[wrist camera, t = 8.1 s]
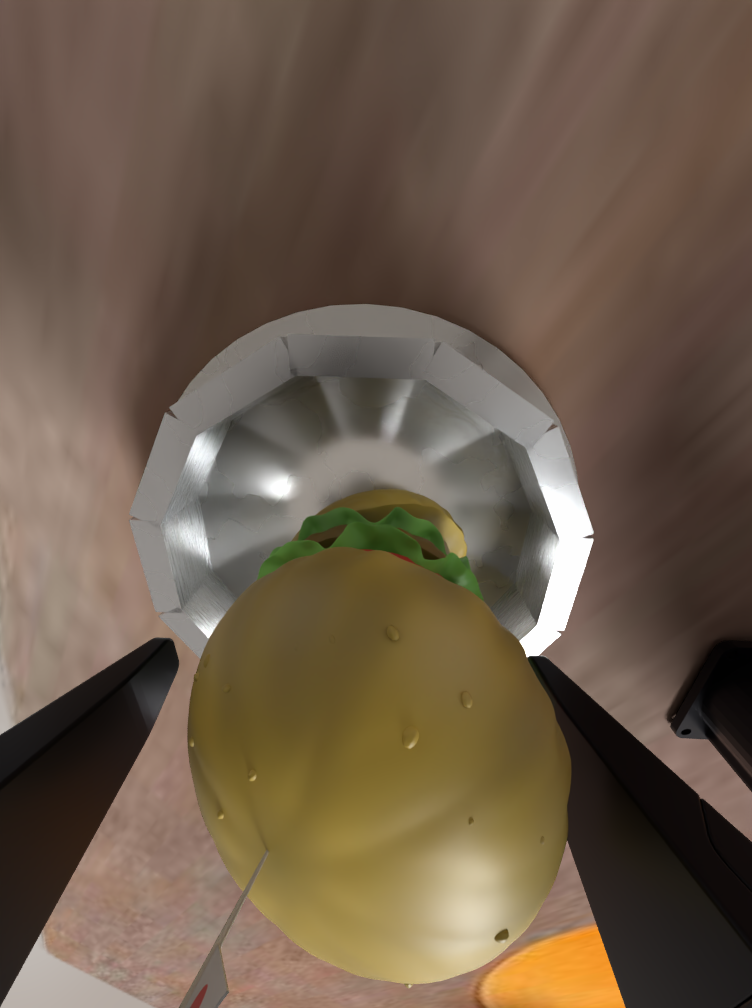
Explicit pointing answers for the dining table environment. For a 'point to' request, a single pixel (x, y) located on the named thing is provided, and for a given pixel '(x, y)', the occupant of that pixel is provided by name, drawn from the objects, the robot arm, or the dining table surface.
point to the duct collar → (360, 462)
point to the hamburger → (377, 751)
